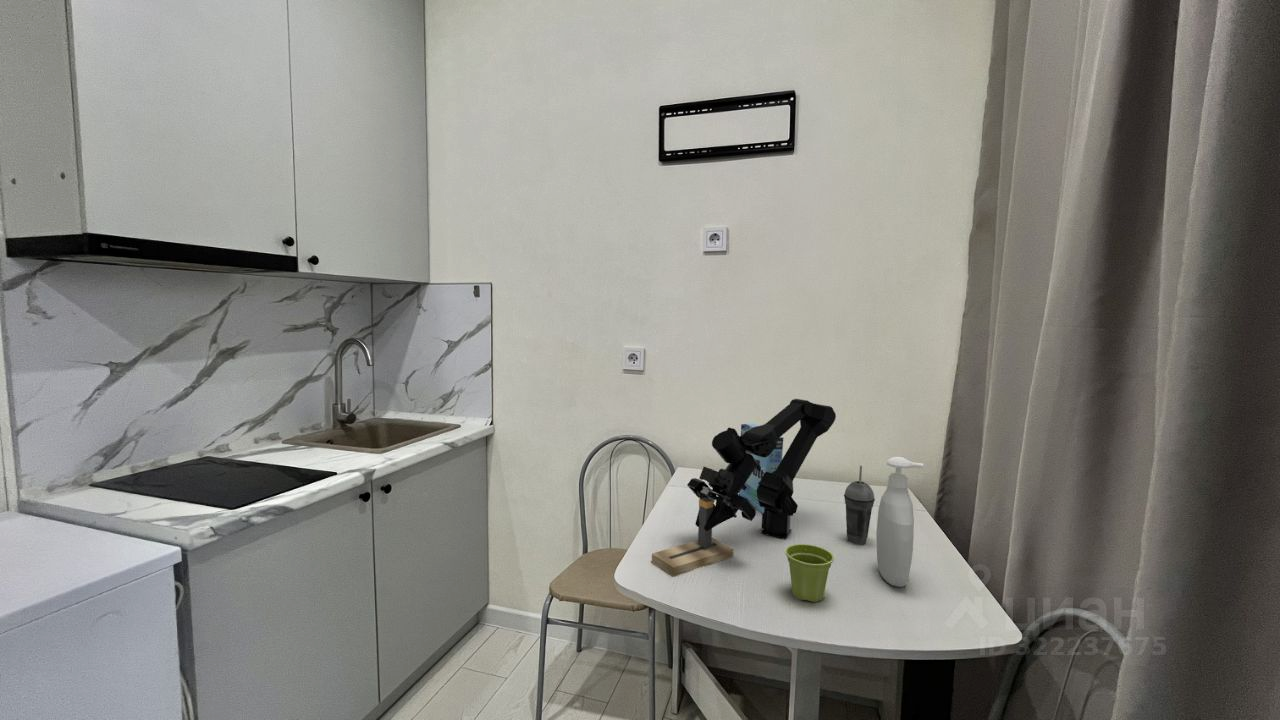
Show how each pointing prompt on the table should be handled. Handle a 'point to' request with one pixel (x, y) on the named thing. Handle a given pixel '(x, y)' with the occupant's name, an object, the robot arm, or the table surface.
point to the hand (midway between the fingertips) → (700, 527)
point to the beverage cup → (858, 510)
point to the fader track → (691, 556)
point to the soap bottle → (896, 526)
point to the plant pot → (808, 570)
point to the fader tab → (704, 522)
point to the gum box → (766, 465)
